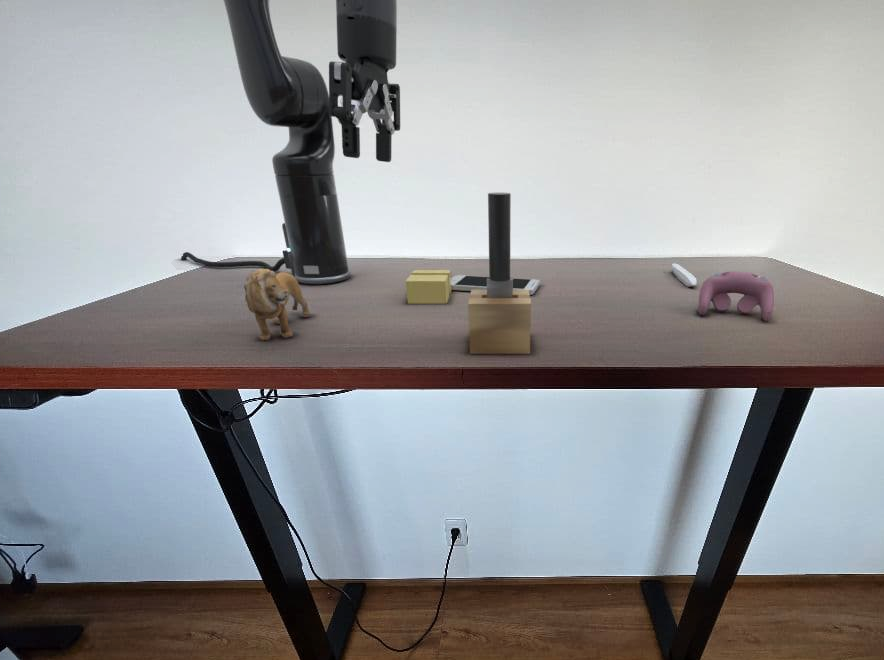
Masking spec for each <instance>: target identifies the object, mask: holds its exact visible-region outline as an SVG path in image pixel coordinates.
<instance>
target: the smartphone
mask: <svg viewBox="0 0 884 660" xmlns="http://www.w3.org/2000/svg"><path fill="white" fill-rule="evenodd" d="M487 279H489V276H478V275H464V274H463V275H460V274H456V275H454V276H452V277H451V291H463V292H464V291H465V292H471V290H487ZM510 279H513V290H529V294H530V296H531V295H534V294H535V292H536V291H537V289H538V288H539V286H541V285H540V283H541V280H540V279H535V278H533V279H532V278H517V277H516V278H515V277H510Z"/></svg>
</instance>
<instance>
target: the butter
mask: <svg viewBox="0 0 884 660" xmlns="http://www.w3.org/2000/svg"><path fill="white" fill-rule="evenodd" d="M451 276H452V275H451V270H450V269H414V270H413V271H412V272H411V274H410V275H409V276H408V277H407V279H406V280H405V288H406V289H405V290H406V298H407V304H408V305H409V304H410V305H412V304H415V305H420V304H422V305H423V304H425V305H426V304H427V305H429V304H431V305H440V304H442V305H446V304H447V303H448V301H449V298H450V295H451V293H452V290H451V278H452V277H451Z"/></svg>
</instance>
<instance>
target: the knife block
mask: <svg viewBox="0 0 884 660" xmlns="http://www.w3.org/2000/svg"><path fill="white" fill-rule="evenodd" d="M467 304H468V305H467V308H468V309H467V310H468V311H467V312H468V332H469V334H468V335H469V336H468V338H469V354H471V355H478V354H479V355H481V354H482V355H497V354H498V355H503V354H504V355H509V354H510V355H528V354H529V355H530V354H531V324H532V301H531V295H530V294H529V290H513V298H487V290H471V291H470V295H469V299H468V303H467Z"/></svg>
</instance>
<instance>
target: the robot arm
mask: <svg viewBox="0 0 884 660" xmlns="http://www.w3.org/2000/svg"><path fill="white" fill-rule="evenodd" d="M223 4H224V7H225V11H226V15H227V20H228V24H229V28H230V34H231V37H232V42H233V48H234V52H235V57H236V60H237V65H238V70H239V75H240V78H241V82H242V86H243V90H244V93H245V96H246V98H247V101H248V103H249V106H250V108H251V109H252V111H253V112H254V114H255V115H256V117H257V118H258V119H260V121H261V122H263V123H264V124H266V125H268V126H272V127H277V128H278V127H279V128H288V142H287V143H286V146H285V147H284V148H283V149H281V150H280V151H279V152H276V153H275V154H274V155H273V156H272V158H271V162H272V168H273V174H274V178H275V183H276V188H277V193H278V196H279V203H280V206H281V211H282V217H283V221H284V222H283V223H282V224H281V228H282V232H283V238H284V242H285V246H286V247H285V248H286V249H285V250H282V258H280V259H279V260H277V262H276V263H275V264H274V265H273V266H272V265H270V264H269V263H268V262H265V261H262V260H261V261H259V260H242V261H241V260H240V261H211V260H210V261H209V260H205V259H203V258H198V257H196V256H195V255H194V254H192V253H191V252H188V251H186V252H183V253H182V255H183V256H182V255H181V257H180V261H187V258H188V259H190V260H191V261H192V262H194V263H197V264H200V265H203V266H206V267H212V268H238V267H239V268H240V267H263V269H269V270H270V271H273V272H275V273H276V272H278V271H279V270H280V268H281V267H282V266H283V265H284V266H285V269H289V270H291V275H293V276H294V277H295V278H296V280H297V282H298V284H299V283H300V284H305V285H324V284H325V285H327V284H333V283H334V284H335V283H338V282H339V283H340V282H343V281H346V280H348V279H349V278H350V277H351V273H350V269H349V265H348V264H349V263H348V257H347V249H346V245H345V244H346V243H345V238H344V237H345V236H344V230H343V225H342V219H341V218H342V217H341V211H340V205H339V199H338V192H337V187H336V180H335V179H336V178H335V172H334V159H335V153H336V147H335V135H334V126H333V118H334V117H335V118H336V119H337V121H338V123H339V124H340V125H341V148H342V154H343V156H344V158H345V157H346V158H353V159H359V158H360V157H361V134H360V131H361V130H360V127H359V124H360V122H361V119H362V117H363V114H365V113H367V116H368V117H369V119H371V120H372V121H373V125H374V127H375V130H376V132H375V159H376V161H377V162H383V163H391V161H392V138H393V137H392V135H394V134H395V132H399V131H400V130H401V87H400V84H398V83H393V82H392V83H390V82H389V79H388V72H389V71H390V70H393V69H395V68H396V67H397V31H398V29H397V25H398V24H397V22H398V21H397V18H398V7H397V5H398V2H397V0H335V10H336V11H335V12H336V45H337V47H336V49H337V56H338V58H339V60H341V61H330V62H329V64H328V87H327V84H326V81H325V79H324V77H323V75H322V72H320V70H319V69H318V68H317V67H316V66H315V65H314V64H312V63H311V62H309V61H307V60H304V59H299V58H295V57H290V56H284V55H282V54H281V52H280V49H279V46H278V42H277V39H276V35H275V32H274V28H273V21H272V18H271V10H270V9H271V8H270V0H223ZM339 97H341V98H340V101H339ZM339 102H340V104H341V106H339ZM392 116H393V119H392Z"/></svg>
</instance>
